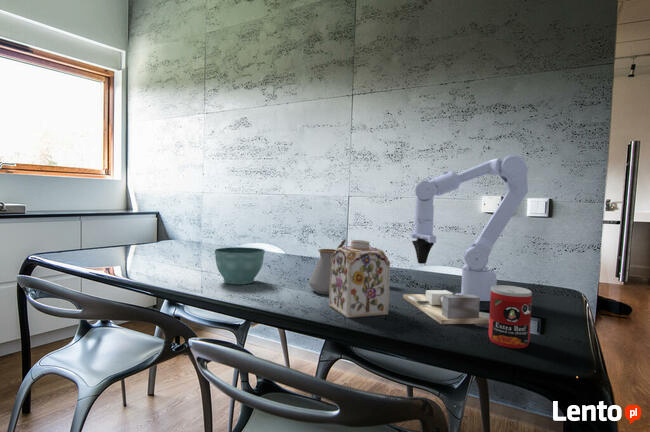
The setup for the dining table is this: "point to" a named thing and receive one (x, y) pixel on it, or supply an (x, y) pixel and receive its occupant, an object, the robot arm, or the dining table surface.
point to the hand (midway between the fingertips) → (421, 263)
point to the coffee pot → (323, 271)
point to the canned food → (510, 316)
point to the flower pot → (239, 264)
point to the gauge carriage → (435, 296)
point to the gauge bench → (438, 312)
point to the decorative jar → (359, 280)
